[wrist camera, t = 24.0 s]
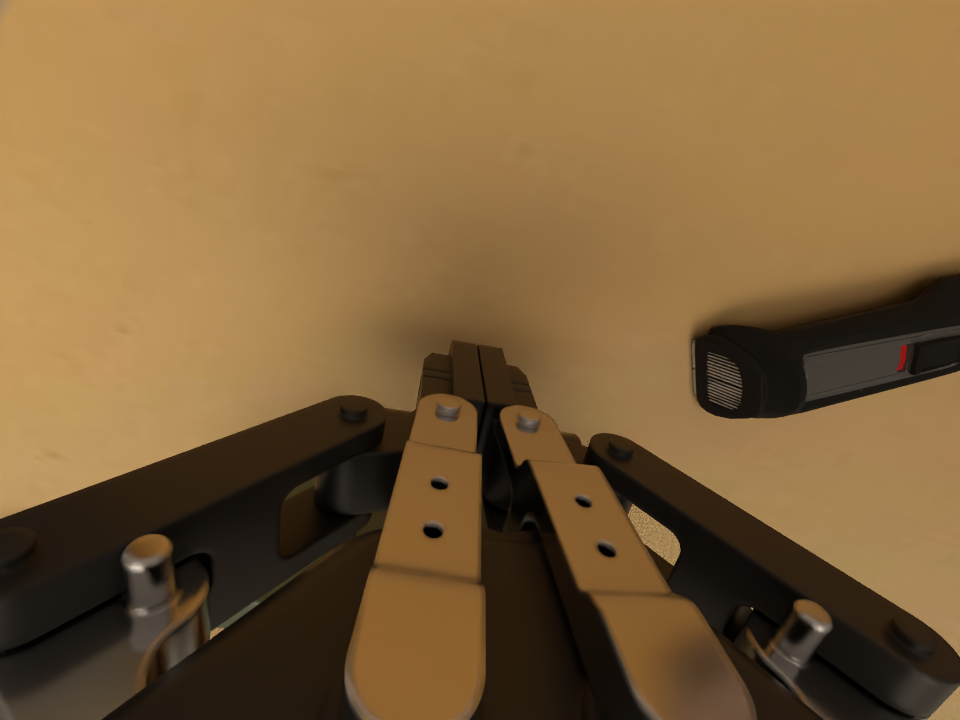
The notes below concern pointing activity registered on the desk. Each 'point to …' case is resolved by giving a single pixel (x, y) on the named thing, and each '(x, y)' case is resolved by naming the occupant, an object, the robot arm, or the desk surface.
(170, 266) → the desk surface
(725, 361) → the electric trimmer
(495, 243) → the desk surface
